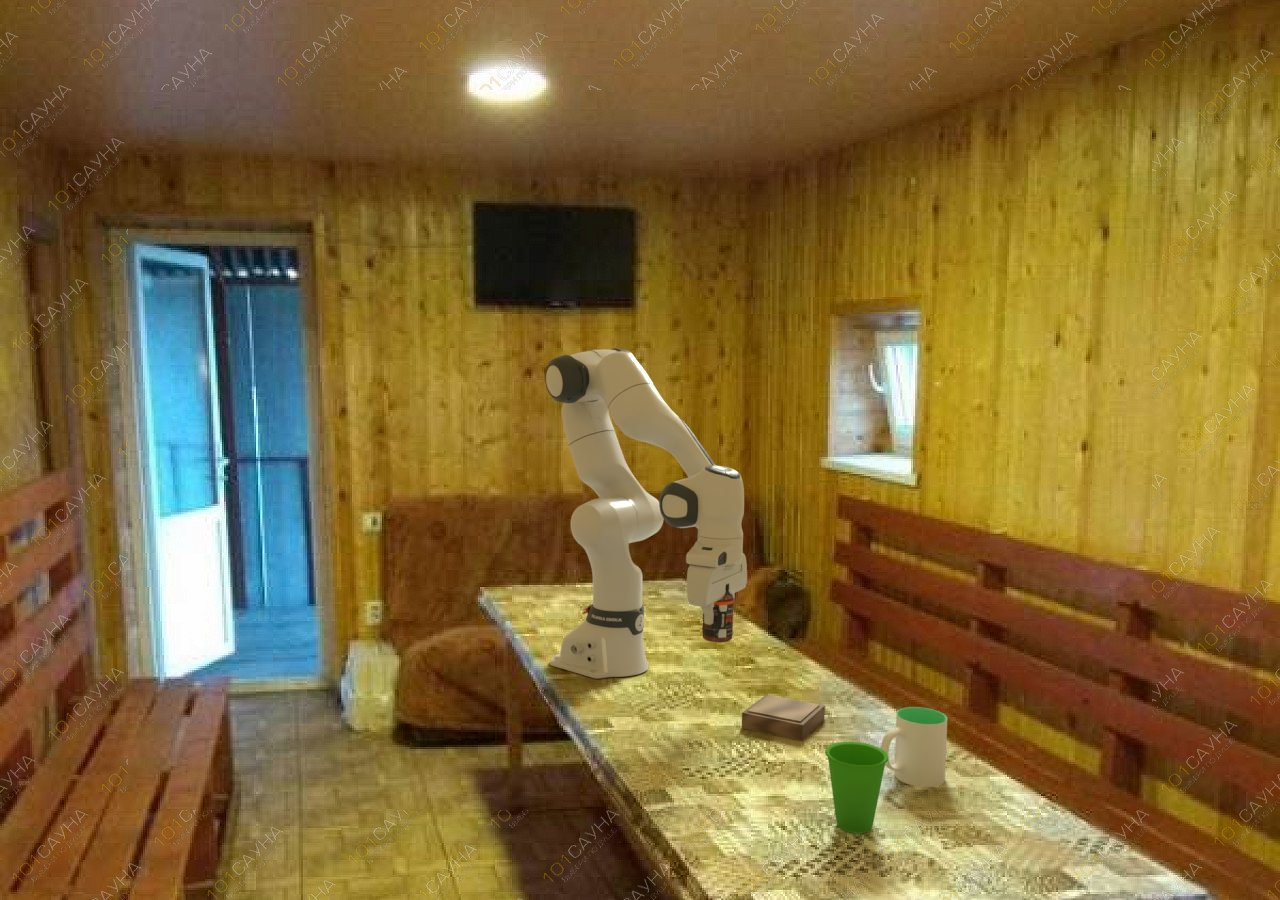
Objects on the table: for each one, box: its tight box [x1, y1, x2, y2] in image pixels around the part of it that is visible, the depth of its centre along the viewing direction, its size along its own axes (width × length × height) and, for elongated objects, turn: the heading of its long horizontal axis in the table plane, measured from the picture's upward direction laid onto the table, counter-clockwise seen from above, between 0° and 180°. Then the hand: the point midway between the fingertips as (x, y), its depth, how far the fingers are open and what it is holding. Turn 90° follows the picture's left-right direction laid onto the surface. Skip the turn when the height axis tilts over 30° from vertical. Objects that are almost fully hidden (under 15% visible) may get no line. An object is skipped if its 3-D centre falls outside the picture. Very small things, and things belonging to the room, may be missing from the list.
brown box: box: [741, 694, 826, 742], centre depth 181 cm, size 12×12×3 cm
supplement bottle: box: [701, 583, 735, 643], centre depth 186 cm, size 6×6×11 cm
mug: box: [880, 706, 948, 788], centre depth 156 cm, size 12×8×10 cm
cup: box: [824, 741, 889, 834], centre depth 140 cm, size 9×9×11 cm
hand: (717, 619), depth 186 cm, fingers closed on supplement bottle, 6 cm apart
